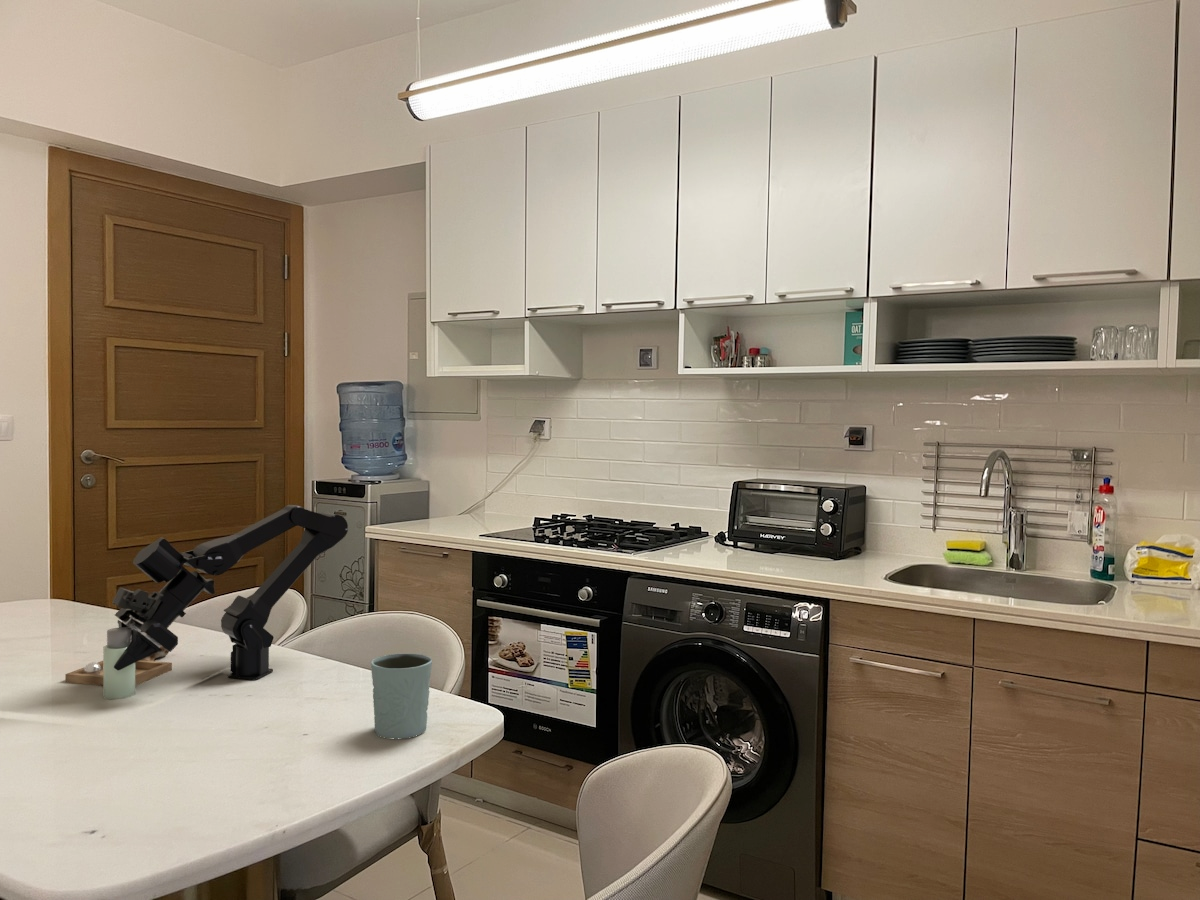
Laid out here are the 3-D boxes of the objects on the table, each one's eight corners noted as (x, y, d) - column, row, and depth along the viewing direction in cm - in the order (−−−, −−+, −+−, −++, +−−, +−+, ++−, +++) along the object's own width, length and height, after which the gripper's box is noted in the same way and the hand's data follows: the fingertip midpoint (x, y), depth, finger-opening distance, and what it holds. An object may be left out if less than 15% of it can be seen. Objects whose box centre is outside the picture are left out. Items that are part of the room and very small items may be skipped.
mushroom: (154, 655, 183) (152, 627, 186) (118, 669, 183) (117, 641, 186) (178, 664, 190) (176, 637, 193) (143, 678, 190) (142, 650, 193)
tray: (171, 674, 181) (171, 662, 181) (130, 692, 169) (130, 679, 169) (110, 669, 184) (110, 657, 183) (65, 687, 172) (65, 674, 172)
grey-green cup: (370, 742, 146) (371, 670, 146) (369, 722, 156) (370, 653, 156) (433, 738, 149) (434, 666, 149) (428, 717, 159) (429, 650, 158)
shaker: (141, 696, 167) (141, 627, 167) (121, 705, 162) (121, 634, 161) (117, 694, 168) (117, 625, 168) (96, 703, 163) (96, 632, 162)
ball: (105, 676, 176) (105, 661, 176) (93, 680, 173) (93, 665, 173) (91, 675, 176) (91, 660, 176) (80, 679, 173) (80, 664, 173)
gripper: (126, 564, 174) (62, 629, 166) (159, 578, 160) (90, 650, 153) (169, 599, 179) (108, 664, 172) (204, 616, 166) (140, 686, 159)
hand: (111, 665), depth 164 cm, fingers closed on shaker, 5 cm apart
